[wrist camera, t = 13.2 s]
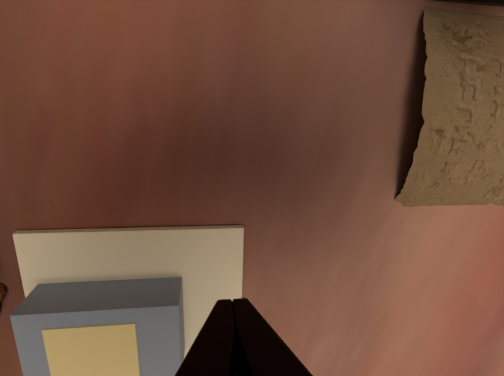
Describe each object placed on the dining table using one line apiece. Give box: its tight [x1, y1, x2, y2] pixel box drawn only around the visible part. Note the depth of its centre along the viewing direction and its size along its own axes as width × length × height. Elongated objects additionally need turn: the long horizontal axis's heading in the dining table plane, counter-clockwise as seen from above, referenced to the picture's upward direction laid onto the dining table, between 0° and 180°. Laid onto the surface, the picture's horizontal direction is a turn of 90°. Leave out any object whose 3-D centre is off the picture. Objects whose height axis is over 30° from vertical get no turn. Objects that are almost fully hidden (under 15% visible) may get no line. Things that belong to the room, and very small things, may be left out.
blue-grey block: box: [10, 277, 185, 376], centre depth 20 cm, size 3×6×9 cm
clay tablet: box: [395, 7, 504, 207], centre depth 21 cm, size 14×10×3 cm
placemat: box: [13, 225, 244, 358], centre depth 22 cm, size 14×13×1 cm
